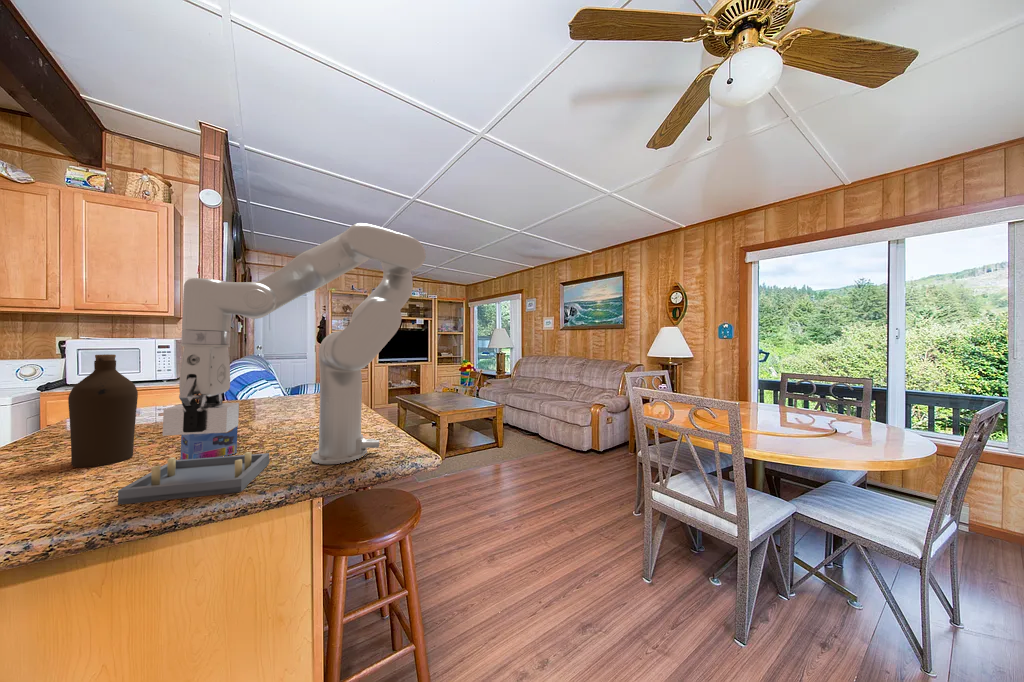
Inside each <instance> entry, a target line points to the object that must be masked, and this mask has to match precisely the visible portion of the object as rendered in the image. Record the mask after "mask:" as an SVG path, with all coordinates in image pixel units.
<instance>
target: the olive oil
mask: <svg viewBox="0 0 1024 682" xmlns="http://www.w3.org/2000/svg"><path fill="white" fill-rule="evenodd" d="M94 357H95V360H94V361H93V362H94V363H93V366H94V370H93V371H92V372H91V373H90V374H89V375H87V376H85V378H83V379H82V380H80V381H79V382H78V383H76V384H75V385H74V386H73V387H72V388H71V390H70V393H69V394H68V397H67V398H68V399H67V401H68V402H67V403H68V414H69V415H68V417H69V429H70V430H69V434H70V455H71V456H70V458H71V462H70V463H71V467H75V468H91V467H99V466H100V467H101V466H105V465H110V464H115V463H120V462H122V461H126V460H129V459H130V458H132V457H133V456H134V446H135V445H134V444H135V428H136V417H137V408H138V407H137V406H138V400H139V399H138V397H139V392H138V388H137V387H136V385H135V383H134V382H133V381H131V380H130V379H129V378H127V377H126V376H125V375H123V374H122V373H120V372H119V371H118V370H117V360H116V357H117V356H116V354H109V353H108V354H105V353H104V354H95V355H94Z"/></svg>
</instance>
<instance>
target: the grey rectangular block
mask: <svg viewBox="0 0 1024 682" xmlns="http://www.w3.org/2000/svg"><path fill="white" fill-rule="evenodd" d="M203 411H206V412H205V430H204V431H202V432H186V433H185V432H183V419H184V412H183V405H182V403H180V404H178V405H173V406H171V407H167V408H163V412H162V413H163V414H162V415H163V417H162V436H163V437H165V436H181V435H186V434H207V433H226V432H228V431H230V430H232V429H233V428H235V427H237V426H238V427H239V416H240V415H239V414H240V402H222V403H207V404H204V408H203Z"/></svg>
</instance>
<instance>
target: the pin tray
mask: <svg viewBox="0 0 1024 682" xmlns="http://www.w3.org/2000/svg"><path fill="white" fill-rule="evenodd" d="M269 464H270V452H268V453H267V452H266V453H254V454H253V453H252V451H246V452H244V454H240V455H229V456H224V457H210V458H197V459H184V460H181V459H176V457H173V456H172V457H169V458H167V462H166V463H165V464H164V465H162V466H161V465H154V466H152V467H151V472H149V473H148V474H145V475H143V476H142V477H140V478H138V479H136V480H135V481H133V482H130V483H129V484H127V485H126V486H123V487H122V488H120V489H118V490H117V506H118V505H120V504H121V505H127V504H128V505H129V504H139V503H148V502H156V501H157V502H158V501H168V500H176V499H187V498H195V497H198V498H199V497H203V496H204V497H205V496H215V495H226V494H236V493H242V492H243V491H244V490H245V489H246V488H247V487H248V486H249V485H250V484H249V483H250V482H251V481H252V480H253V481H254V480H255V479H256V478H257V477H258V475H259V474H261V472H263V470H264V469H266V467H268V465H269ZM253 481H252V482H253ZM252 482H251V483H252ZM248 484H249V485H248ZM247 485H248V486H247Z"/></svg>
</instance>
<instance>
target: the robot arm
mask: <svg viewBox="0 0 1024 682" xmlns="http://www.w3.org/2000/svg"><path fill="white" fill-rule="evenodd" d="M426 255H427V254H426V250H425V247H424V246H423V243H421V242H420V241H419V240H418V239H417V238H415V237H412V236H411V235H408V234H403V233H401V232H397V231H394V230H391V229H388V228H384V227H381V226H378V225H374V224H370V223H363V222H358V223H355V224H352V225H351V226H350V227H349V228H348V229H346V230H345V231H343V232H342V233H340V234H338V235H335V236H334V237H332V238H330V239H328V240H326V241H324V242H322V243H320V244H318V245H316V246H314V247H312V248H310V249H307V250H305V251H304V252H302V253H300V254H298V255H296V256H295V257H294V258H293V259H291V260H290V261H289V262H288V263H286V265H284V266H283V267H281V268H280V269H278V270H276V271H275V272H273V273H271V274H269V275H267V276H265V277H264V278H262V279H260V280H258V281H256V282H254V281H249V282H248V281H246V282H245V281H243V282H242V281H241V282H239V281H237V282H235V281H223V280H219V279H212V278H202V277H199V278H198V277H193V278H189V279H187V280H185V281H184V285H183V293H182V294H183V297H182V299H183V300H182V320H181V341H180V347H183V351H182V357H181V362H180V363H181V364H180V371H179V387H178V388H179V395H178V399H180V401H181V404H182V405H183V412H184V419H183V432H185V433H186V432H202V431H204V430H205V412H206V411H203V408H204V404H207V403H223V401H222V398H223V395H224V393H226V392H229V390H230V388H231V360H230V351H229V348H230V347H231V332H232V331H231V329H232V315H237V316H238V315H239V316H242V317H243V318H247V319H250V320H251V319H253V320H257V319H261V318H264V317H266V316H269V315H270V314H271V313H273V312H275V311H276V310H278V309H280V308H281V307H283V306H285V305H287V304H289V303H290V302H292V301H294V300H296V299H298V298H299V297H302V296H303V295H306V294H308V293H310V292H313V291H316V290H317V289H320V288H322V287H323V286H325V285H327V284H329V283H331V282H333V281H334V280H336V279H337V278H339V277H342V275H344V274H346V273H348V272H350V271H352V270H353V269H355V268H357V267H359V266H361V265H362V264H364V263H366V262H367V261H369V260H374V261H376V262H379V263H380V265H381V267H382V272H383V274H382V275H383V276H382V279H381V281H380V283H379V284H378V285H377V286H376V287H375V289H373V291H371V293H370V294H369V295H368V296H367V297H365V299H364V300H363V301H362V302H361V303H360V304H359V305H357V307H356V308H355V309H354V311H353V313H352V315H351V321H350V323H348V324H347V326H346V327H345V328H344V329H342V330H338V331H337V330H336V331H333V332H332V333H329V334H328V335H327V336H325V337H324V338H323V339H322V341H321V343H320V344H319V348H318V364H319V415H318V416H319V418H318V420H319V421H318V422H319V424H318V449H317V450H316V451H314V452H313V453H312V454H311V461H312V462H313V463H316V464H318V463H319V465H337V464H338V465H339V464H340V463H341V464H346V463H345V462H347V463H351V462H350V461H352V462H354V461H353V460H355V461H357V460H356V459H358V460H360V459H359V458H361V457H362V456H364V455H365V454H366V453H367V454H368V448H369V449H370V448H371V449H372V448H374V449H376V448H380V439H376V438H369V439H368V438H367V439H366V438H364V434H363V433H362V403H363V402H362V399H363V398H362V397H363V395H362V394H363V379H362V377H363V376H362V370H363V369H364V368H365V367H367V366H368V365H369V364H370V363H372V361H373V360H374V359H375V358H376V357H377V356H378V354H379V353H380V352H381V351H382V349H383V348H385V346H386V345H387V344H388V342H390V341H391V339H393V337H394V336H395V335H396V334H397V332H398V330H399V328H400V326H401V324H402V312H401V310H402V308H403V307H404V306H405V304H407V302H408V301H409V299H410V298H411V296H412V292H413V285H414V284H413V274H412V272H414V271H416V270H418V269H419V268H421V267H422V266H423V265H424V263H425V261H426V257H427V256H426ZM197 400H198V401H197ZM367 454H366V455H367ZM366 455H365V456H366ZM365 456H364V457H365ZM361 459H362V458H361Z"/></svg>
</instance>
